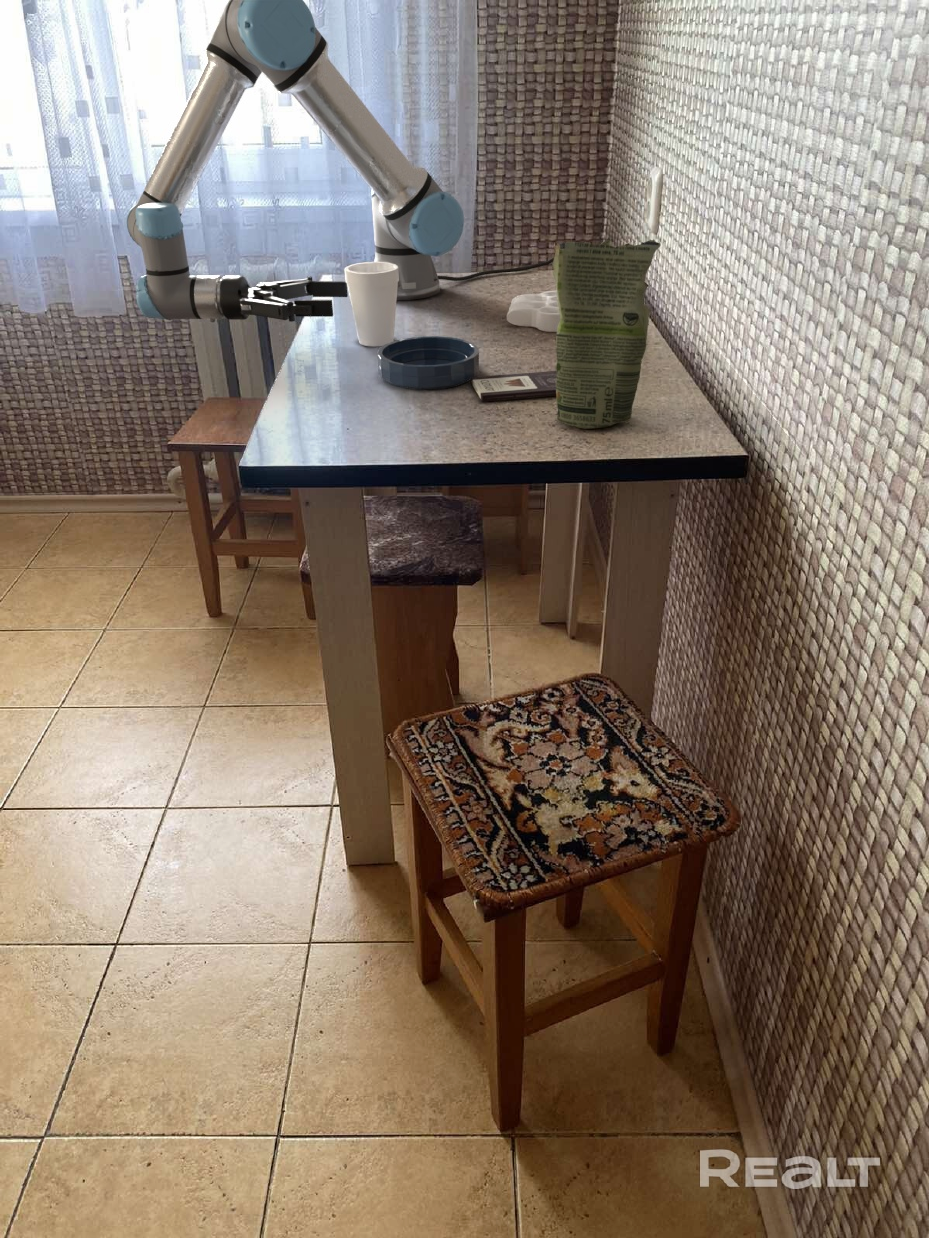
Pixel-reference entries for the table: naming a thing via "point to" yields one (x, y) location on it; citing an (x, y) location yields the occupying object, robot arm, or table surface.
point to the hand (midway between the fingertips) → (340, 298)
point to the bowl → (428, 362)
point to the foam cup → (373, 300)
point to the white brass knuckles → (535, 311)
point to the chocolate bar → (515, 386)
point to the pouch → (600, 330)
